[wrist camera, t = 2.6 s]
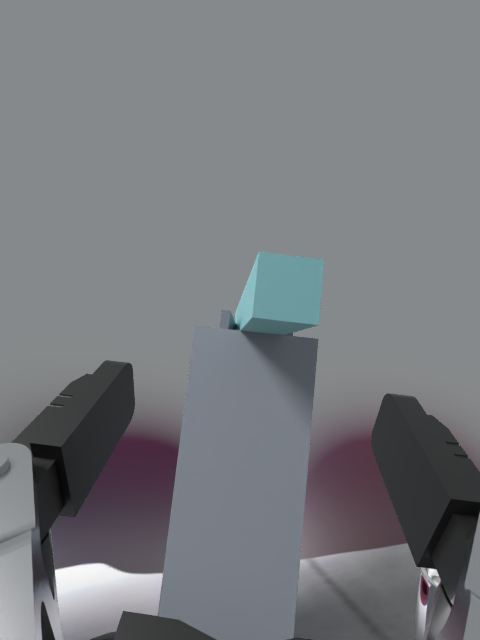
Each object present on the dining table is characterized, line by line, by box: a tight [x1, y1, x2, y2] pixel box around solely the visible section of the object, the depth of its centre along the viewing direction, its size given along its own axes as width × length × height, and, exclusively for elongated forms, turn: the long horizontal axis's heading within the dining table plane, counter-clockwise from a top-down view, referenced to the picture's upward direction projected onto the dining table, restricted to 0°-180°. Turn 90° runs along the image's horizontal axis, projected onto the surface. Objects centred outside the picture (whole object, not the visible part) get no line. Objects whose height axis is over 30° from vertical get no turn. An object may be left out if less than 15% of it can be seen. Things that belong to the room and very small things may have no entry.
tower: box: [158, 310, 318, 640], centre depth 29 cm, size 10×10×34 cm
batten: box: [235, 252, 324, 335], centre depth 29 cm, size 4×24×4 cm, turn 4°
